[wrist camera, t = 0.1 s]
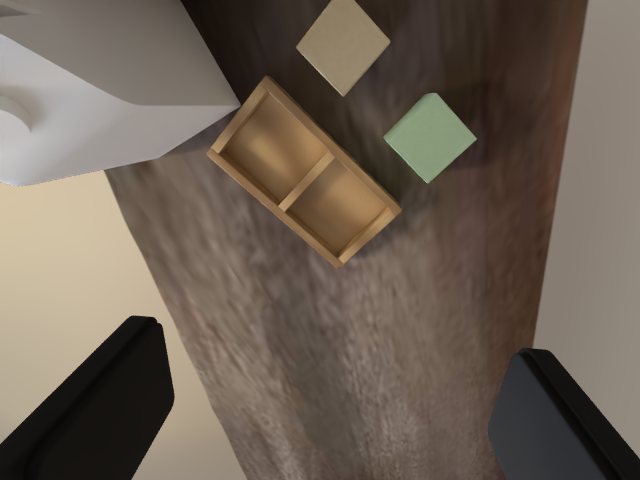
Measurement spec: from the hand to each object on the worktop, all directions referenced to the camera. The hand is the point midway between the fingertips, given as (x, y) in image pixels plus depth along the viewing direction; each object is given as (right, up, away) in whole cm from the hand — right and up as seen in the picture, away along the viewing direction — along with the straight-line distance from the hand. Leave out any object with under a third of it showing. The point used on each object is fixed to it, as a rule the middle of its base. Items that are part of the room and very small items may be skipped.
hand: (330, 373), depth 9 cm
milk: (-17, +21, +27) cm, 38 cm away
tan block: (+2, +23, +24) cm, 33 cm away
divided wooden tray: (-2, +11, +29) cm, 31 cm away
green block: (+11, +15, +27) cm, 33 cm away
